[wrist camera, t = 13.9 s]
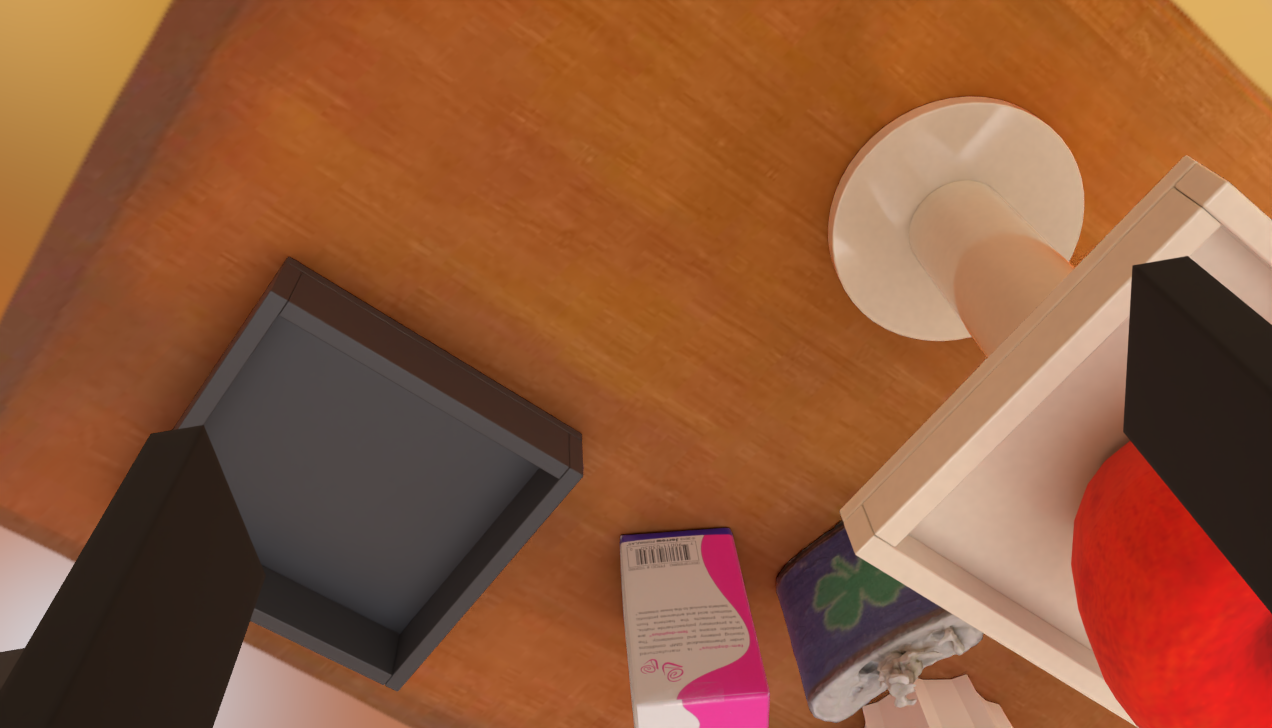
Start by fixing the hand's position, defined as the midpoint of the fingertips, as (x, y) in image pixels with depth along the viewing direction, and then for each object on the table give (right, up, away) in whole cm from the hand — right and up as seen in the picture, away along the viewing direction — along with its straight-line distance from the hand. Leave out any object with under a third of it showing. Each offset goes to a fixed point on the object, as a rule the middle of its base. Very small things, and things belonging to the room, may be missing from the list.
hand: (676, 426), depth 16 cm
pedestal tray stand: (+13, +7, +34) cm, 37 cm away
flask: (+10, -8, +42) cm, 44 cm away
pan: (-14, -4, +38) cm, 41 cm away
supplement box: (+1, -10, +42) cm, 44 cm away
